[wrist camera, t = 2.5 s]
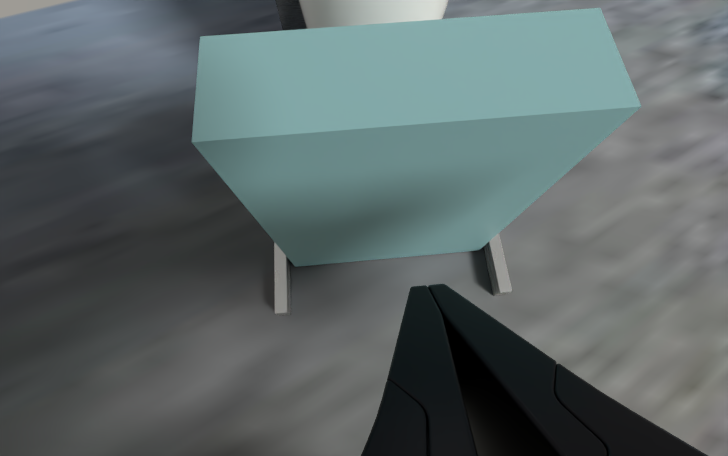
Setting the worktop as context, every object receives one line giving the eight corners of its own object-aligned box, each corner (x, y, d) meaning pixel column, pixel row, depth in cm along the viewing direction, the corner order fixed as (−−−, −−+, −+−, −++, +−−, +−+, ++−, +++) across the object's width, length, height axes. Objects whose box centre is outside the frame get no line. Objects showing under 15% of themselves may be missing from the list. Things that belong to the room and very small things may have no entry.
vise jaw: (478, 250, 19) (641, 106, 8) (295, 266, 19) (191, 142, 8) (468, 200, 20) (600, 8, 9) (293, 214, 20) (200, 36, 9)
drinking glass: (304, 86, 23) (205, -336, 9) (401, 58, 24) (451, -374, 10) (337, 173, 21) (275, -197, 7) (442, 139, 22) (584, -261, 8)
